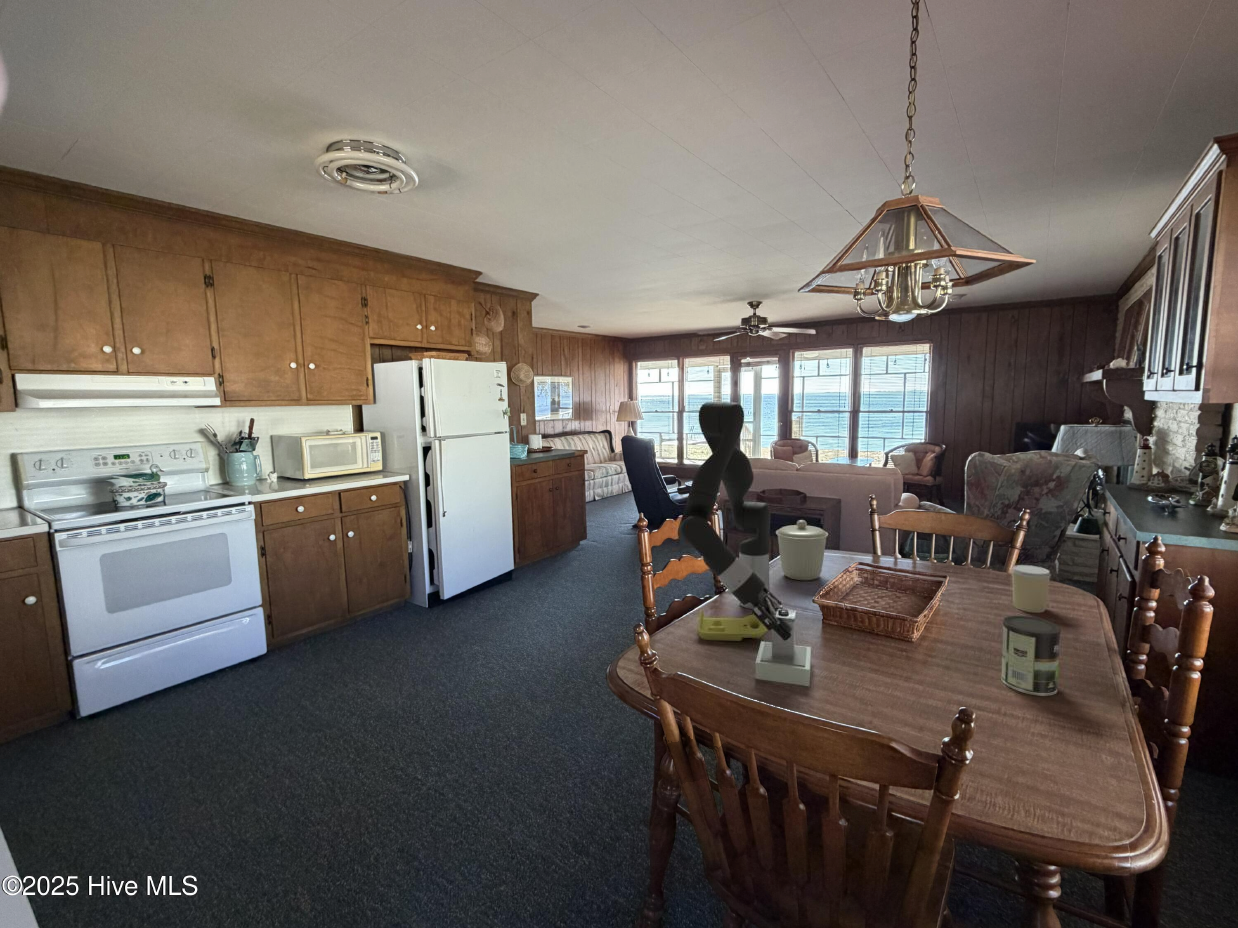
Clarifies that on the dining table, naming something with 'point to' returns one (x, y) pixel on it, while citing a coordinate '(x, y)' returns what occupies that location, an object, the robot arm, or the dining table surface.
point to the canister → (801, 550)
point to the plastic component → (730, 628)
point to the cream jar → (1030, 588)
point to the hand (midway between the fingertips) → (789, 630)
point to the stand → (784, 665)
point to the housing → (778, 644)
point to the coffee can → (1030, 655)
